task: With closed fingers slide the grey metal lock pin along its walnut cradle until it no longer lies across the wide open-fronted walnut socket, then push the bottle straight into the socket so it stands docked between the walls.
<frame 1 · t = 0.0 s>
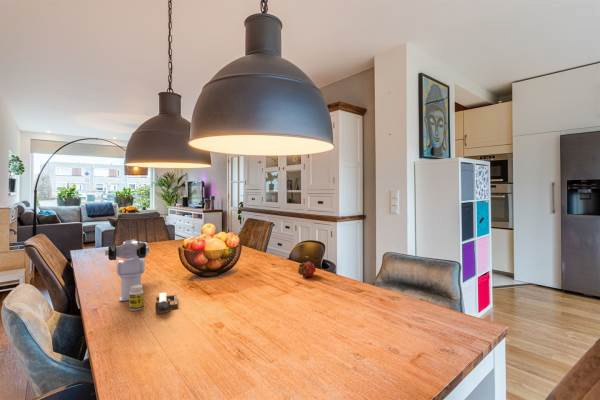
hand: (125, 252, 108), 22 cm above the table, tool horizontal, fingers open, 7 cm apart
lock pin: (162, 300, 113), point 3 cm above the table, slide at 0.0 cm
dragon fruit: (307, 276, 157), on the table
mount: (163, 304, 117), on the table
supplement bottle: (136, 309, 113), on the table
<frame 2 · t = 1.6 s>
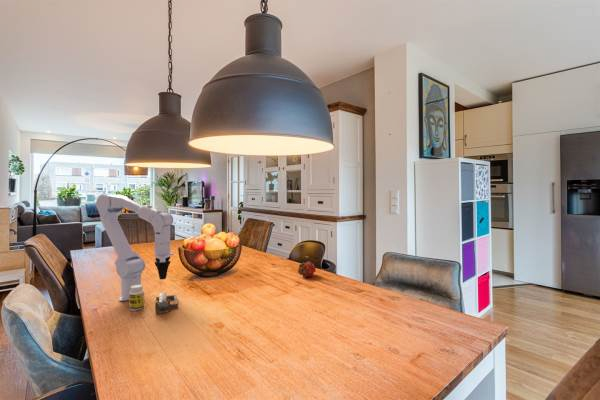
hand: (162, 276, 122), 9 cm above the table, tool pointing down, fingers open, 7 cm apart
nothing on the table moved.
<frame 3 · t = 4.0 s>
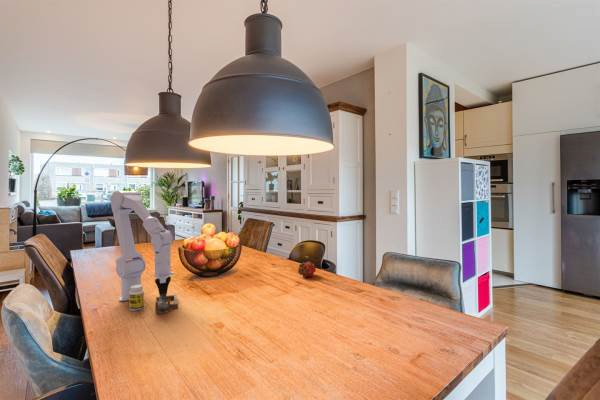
hand: (163, 296, 119), 2 cm above the table, tool pointing down, fingers closed
lock pin: (162, 301, 112), point 3 cm above the table, slide at 1.2 cm, touching gripper
everything else where it was.
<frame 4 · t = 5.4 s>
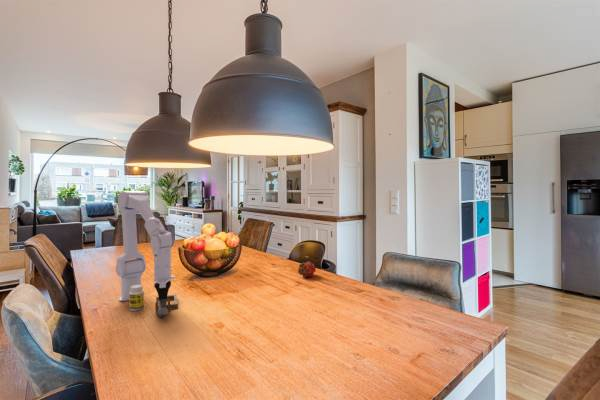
hand: (163, 301, 113), 2 cm above the table, tool pointing down, fingers closed
lock pin: (162, 307, 106), point 3 cm above the table, slide at 7.6 cm, touching gripper
everything else where it was.
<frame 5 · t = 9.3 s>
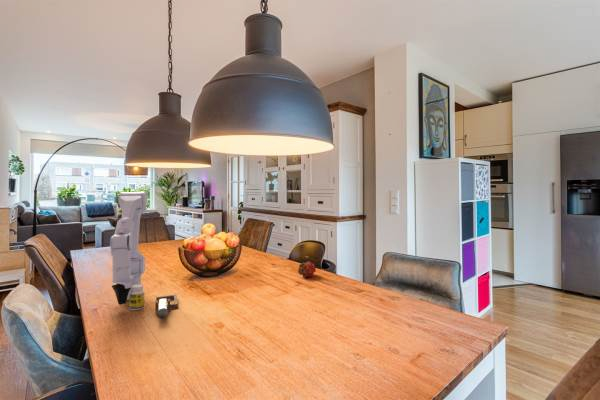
hand: (122, 303, 111), 2 cm above the table, tool pointing down, fingers closed
lock pin: (162, 307, 106), point 3 cm above the table, slide at 7.6 cm
supplement bottle: (136, 309, 113), on the table, touching gripper
everything else where it was.
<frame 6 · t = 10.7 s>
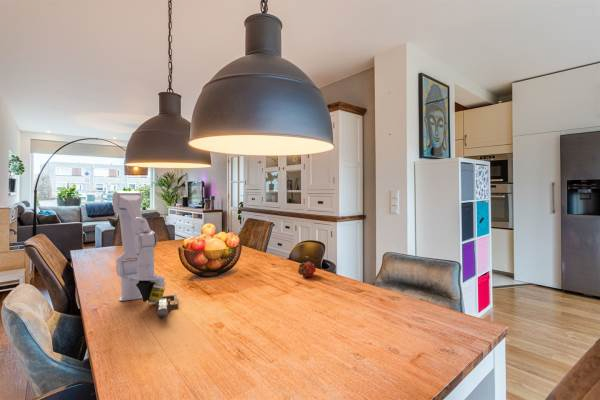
hand: (146, 300, 114), 3 cm above the table, tool pointing down, fingers closed, pressing on supplement bottle
supplement bottle: (153, 303, 116), point 1 cm above the table, touching gripper
everything else where it was.
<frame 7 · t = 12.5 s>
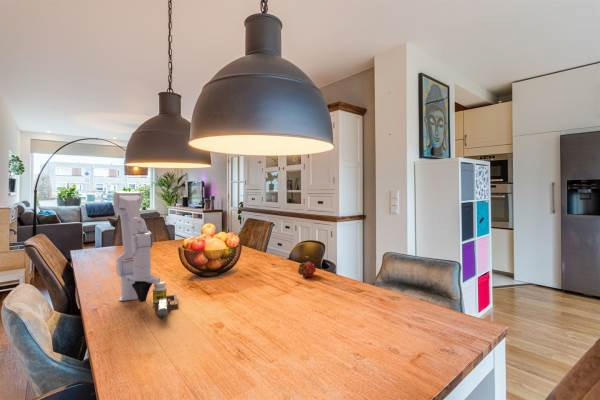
hand: (142, 301, 114), 2 cm above the table, tool pointing down, fingers closed
supplement bottle: (159, 304, 118), on the table
everything else where it was.
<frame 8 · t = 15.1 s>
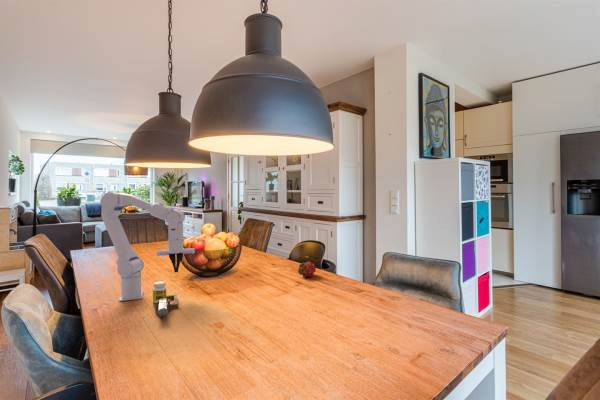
hand: (176, 271, 126), 10 cm above the table, tool pointing down, fingers closed
nothing on the table moved.
at the end: lock pin slide at 7.6 cm; supplement bottle 1.9 cm from the mount (horizontally); supplement bottle tilted 1° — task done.
